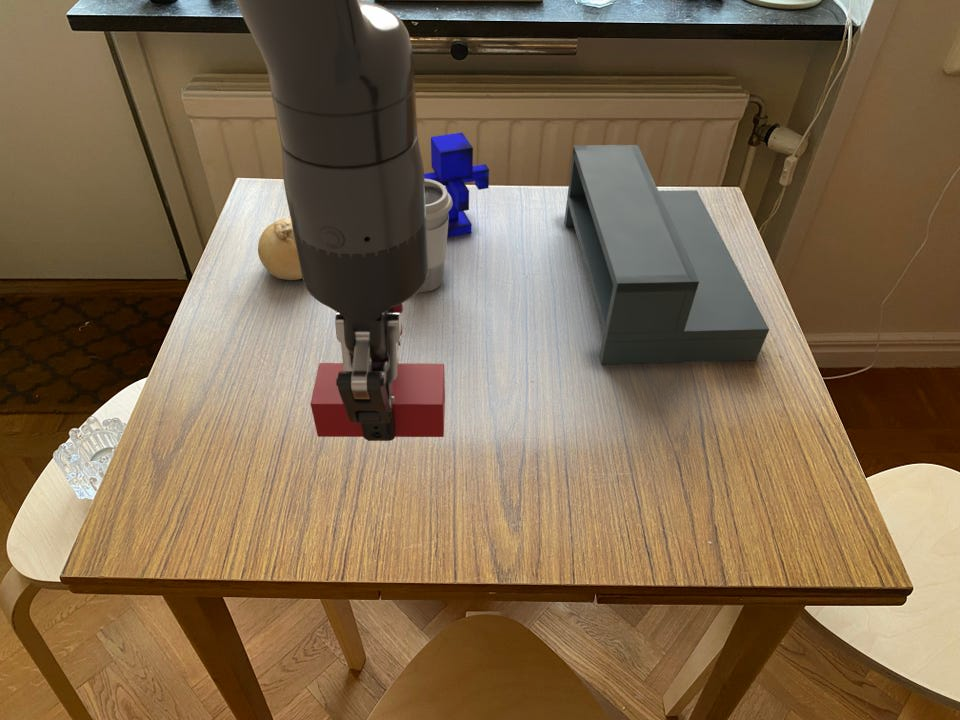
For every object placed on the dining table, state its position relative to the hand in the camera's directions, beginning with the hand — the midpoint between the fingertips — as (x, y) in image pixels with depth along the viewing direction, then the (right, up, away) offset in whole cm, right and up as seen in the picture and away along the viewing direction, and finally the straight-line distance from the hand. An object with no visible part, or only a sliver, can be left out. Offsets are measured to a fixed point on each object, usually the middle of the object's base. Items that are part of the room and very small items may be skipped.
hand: (382, 411), depth 52 cm
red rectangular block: (0, 0, 0) cm, 0 cm away
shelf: (+28, +13, +34) cm, 45 cm away
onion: (-15, +15, +34) cm, 40 cm away
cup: (0, +13, +33) cm, 36 cm away
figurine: (+3, +21, +41) cm, 46 cm away
